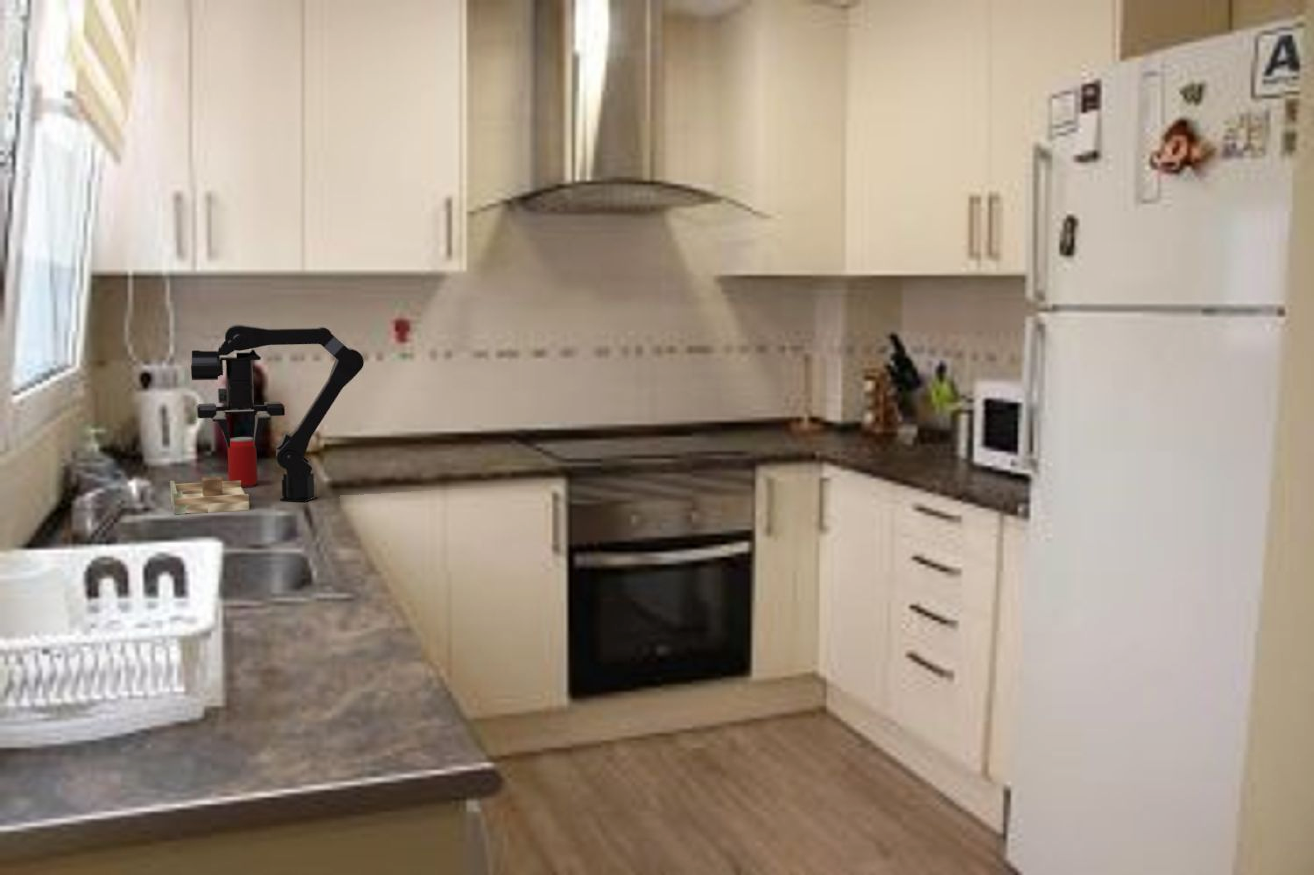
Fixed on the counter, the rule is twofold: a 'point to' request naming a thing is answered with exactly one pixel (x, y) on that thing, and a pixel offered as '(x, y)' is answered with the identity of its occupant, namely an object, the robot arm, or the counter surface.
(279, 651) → the counter surface
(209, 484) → the walnut block
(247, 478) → the beverage can
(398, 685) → the counter surface
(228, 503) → the trap track
